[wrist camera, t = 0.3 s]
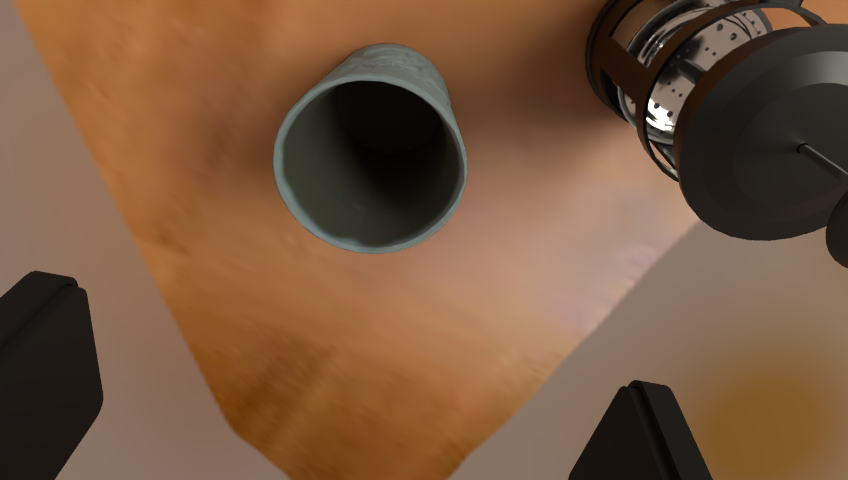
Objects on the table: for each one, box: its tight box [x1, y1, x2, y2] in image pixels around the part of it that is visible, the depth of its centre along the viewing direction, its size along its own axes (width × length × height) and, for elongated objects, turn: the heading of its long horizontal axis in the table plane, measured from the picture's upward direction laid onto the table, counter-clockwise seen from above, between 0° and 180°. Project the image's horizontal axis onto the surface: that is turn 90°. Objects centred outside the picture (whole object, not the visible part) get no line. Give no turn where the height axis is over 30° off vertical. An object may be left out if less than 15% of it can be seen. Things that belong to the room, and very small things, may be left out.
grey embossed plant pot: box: [272, 43, 467, 254], centre depth 33 cm, size 10×10×12 cm
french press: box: [585, 0, 848, 268], centre depth 26 cm, size 12×9×23 cm
